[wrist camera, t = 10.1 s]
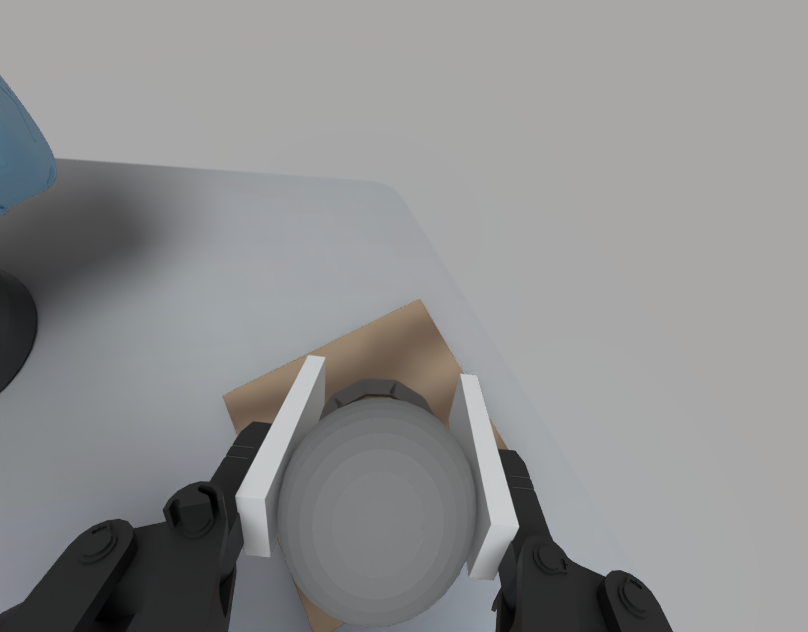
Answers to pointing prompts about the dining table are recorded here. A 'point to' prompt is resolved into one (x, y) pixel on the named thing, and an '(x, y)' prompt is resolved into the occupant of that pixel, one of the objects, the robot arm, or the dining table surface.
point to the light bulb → (376, 512)
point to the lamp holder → (364, 384)
